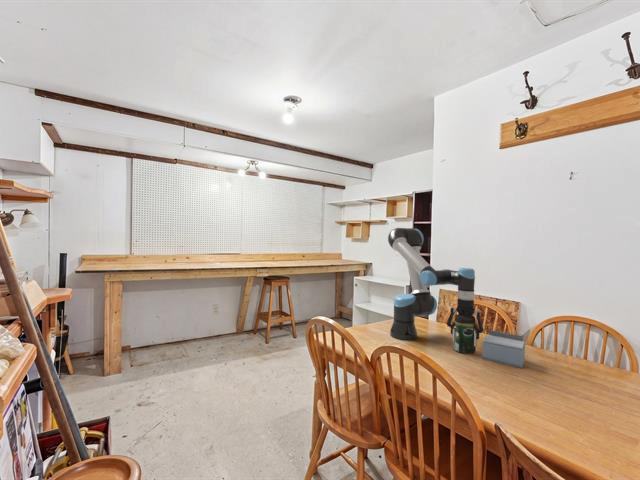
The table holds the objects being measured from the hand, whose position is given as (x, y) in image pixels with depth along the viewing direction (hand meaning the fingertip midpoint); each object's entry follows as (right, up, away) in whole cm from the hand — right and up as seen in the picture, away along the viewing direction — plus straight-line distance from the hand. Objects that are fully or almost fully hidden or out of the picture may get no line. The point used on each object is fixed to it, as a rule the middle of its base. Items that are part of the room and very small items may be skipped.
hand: (464, 343), depth 155 cm
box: (+14, -5, -10) cm, 18 cm away
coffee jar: (0, -4, 0) cm, 4 cm away
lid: (+14, +3, -10) cm, 17 cm away
